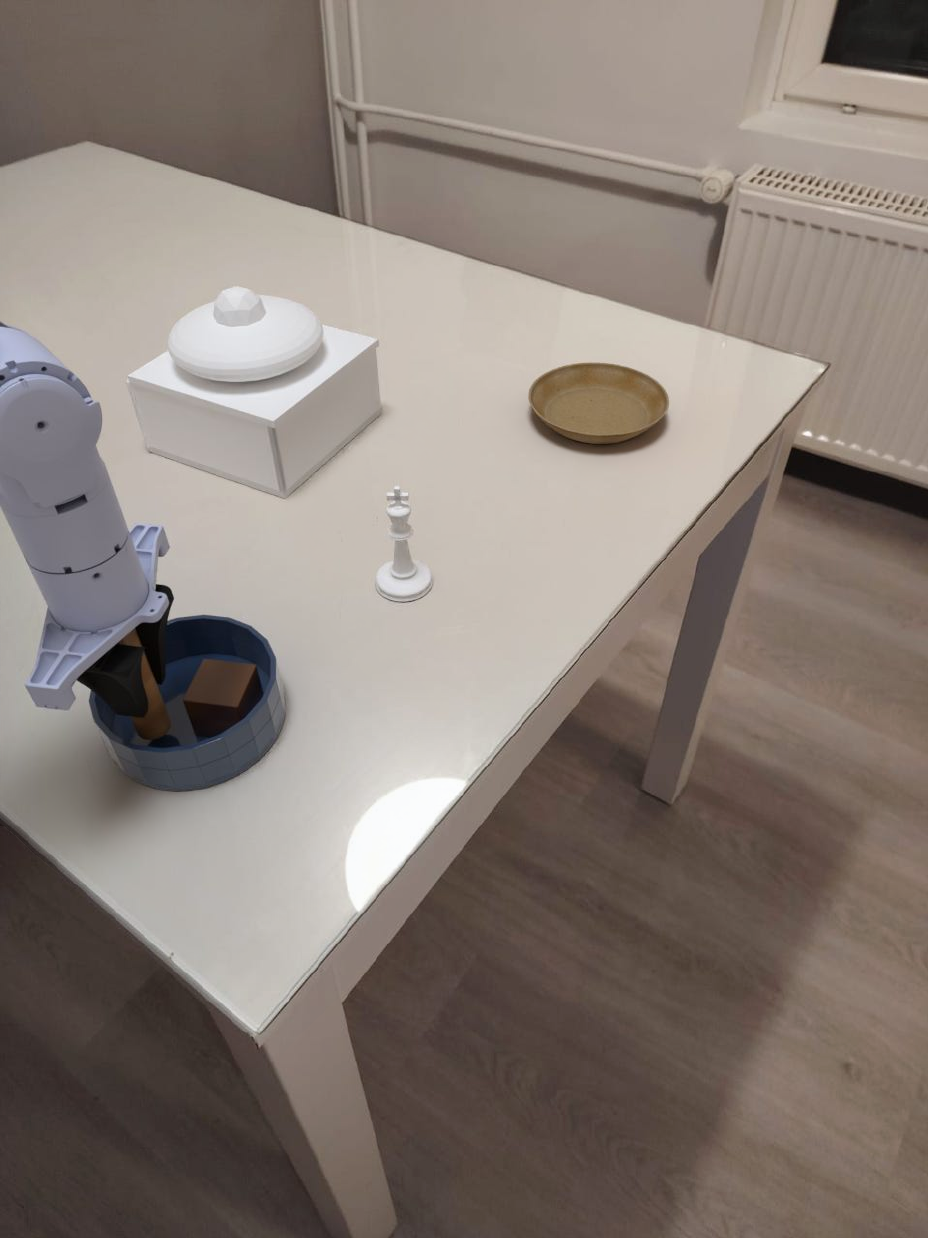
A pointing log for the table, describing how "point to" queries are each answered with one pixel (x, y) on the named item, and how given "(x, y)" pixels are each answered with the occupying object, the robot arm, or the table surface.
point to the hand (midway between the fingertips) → (141, 696)
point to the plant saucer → (598, 402)
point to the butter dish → (256, 391)
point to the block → (221, 696)
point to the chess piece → (402, 557)
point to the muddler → (149, 699)
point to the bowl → (180, 751)
